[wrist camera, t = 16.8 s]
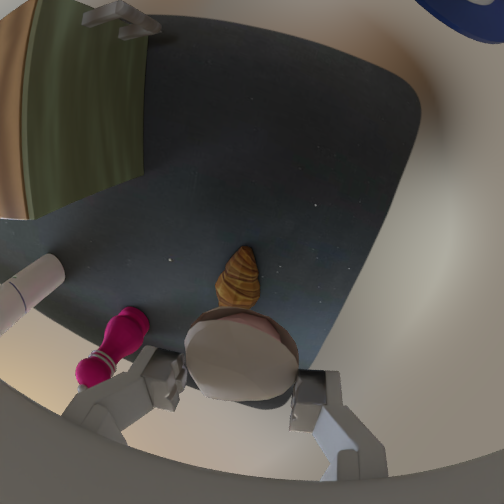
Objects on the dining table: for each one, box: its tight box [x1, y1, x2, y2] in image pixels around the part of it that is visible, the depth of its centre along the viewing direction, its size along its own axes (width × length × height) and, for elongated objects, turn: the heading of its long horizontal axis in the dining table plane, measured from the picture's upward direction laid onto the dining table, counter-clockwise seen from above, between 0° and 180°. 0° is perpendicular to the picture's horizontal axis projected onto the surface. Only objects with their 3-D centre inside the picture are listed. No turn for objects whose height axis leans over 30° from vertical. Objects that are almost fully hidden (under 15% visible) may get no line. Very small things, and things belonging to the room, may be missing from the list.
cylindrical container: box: [0, 254, 65, 337], centre depth 39 cm, size 7×7×25 cm
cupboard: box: [0, 0, 38, 220], centre depth 27 cm, size 16×22×22 cm
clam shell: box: [184, 307, 299, 401], centre depth 10 cm, size 4×5×2 cm
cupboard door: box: [22, 0, 162, 220], centre depth 25 cm, size 6×22×22 cm, turn 178°
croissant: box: [215, 246, 260, 309], centre depth 42 cm, size 14×7×5 cm, turn 168°
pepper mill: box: [75, 307, 149, 393], centre depth 42 cm, size 7×7×20 cm
